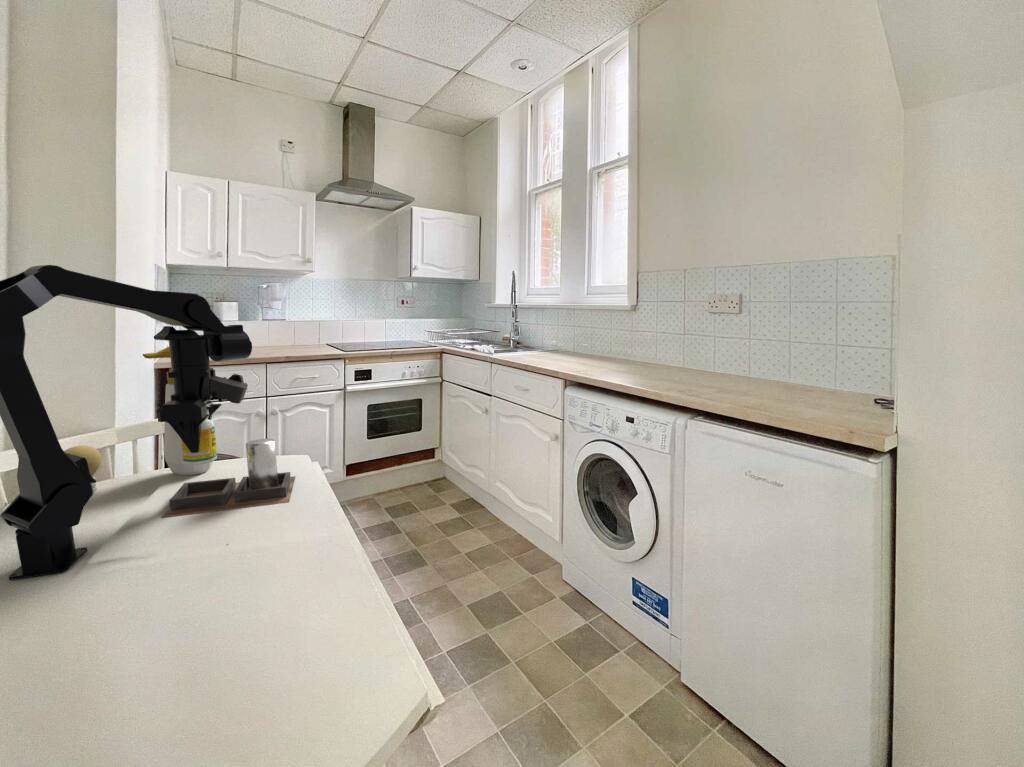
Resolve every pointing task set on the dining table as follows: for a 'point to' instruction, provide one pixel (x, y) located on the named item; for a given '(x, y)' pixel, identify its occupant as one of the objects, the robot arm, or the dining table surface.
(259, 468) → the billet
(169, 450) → the soap bottle
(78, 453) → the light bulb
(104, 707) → the dining table surface
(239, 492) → the brown divided tray
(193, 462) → the supplement bottle
